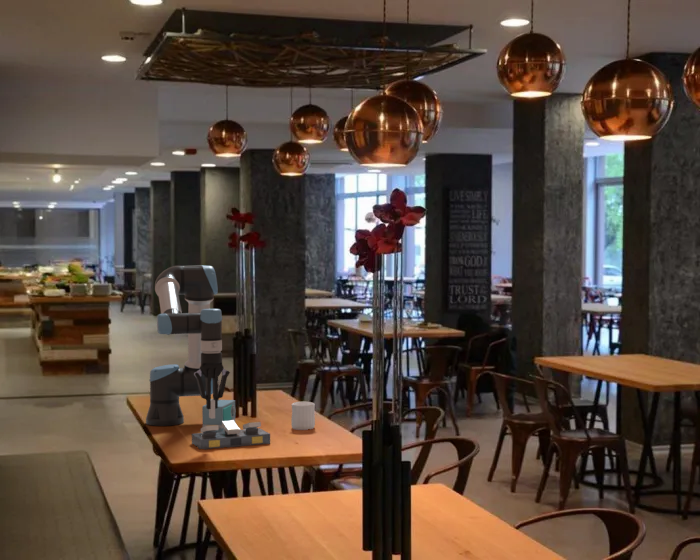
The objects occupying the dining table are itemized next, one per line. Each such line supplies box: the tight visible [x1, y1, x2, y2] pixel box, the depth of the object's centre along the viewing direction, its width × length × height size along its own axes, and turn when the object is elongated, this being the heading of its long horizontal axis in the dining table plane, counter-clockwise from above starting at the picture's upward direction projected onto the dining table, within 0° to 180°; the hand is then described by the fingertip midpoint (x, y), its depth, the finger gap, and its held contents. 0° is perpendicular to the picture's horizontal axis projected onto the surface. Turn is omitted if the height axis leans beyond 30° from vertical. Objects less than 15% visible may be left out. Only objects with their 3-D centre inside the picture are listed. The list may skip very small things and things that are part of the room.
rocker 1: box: [200, 425, 219, 433], centre depth 364 cm, size 8×4×2 cm, turn 24°
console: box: [191, 427, 271, 450], centre depth 367 cm, size 12×26×5 cm, turn 114°
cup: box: [291, 401, 316, 431], centre depth 397 cm, size 10×10×10 cm
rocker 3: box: [242, 421, 262, 430], centre depth 370 cm, size 8×4×2 cm, turn 24°
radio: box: [201, 379, 237, 432], centre depth 386 cm, size 16×9×20 cm, turn 168°
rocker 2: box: [222, 420, 241, 434], centre depth 367 cm, size 8×4×2 cm, turn 24°
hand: (212, 417), depth 360 cm, fingers closed
